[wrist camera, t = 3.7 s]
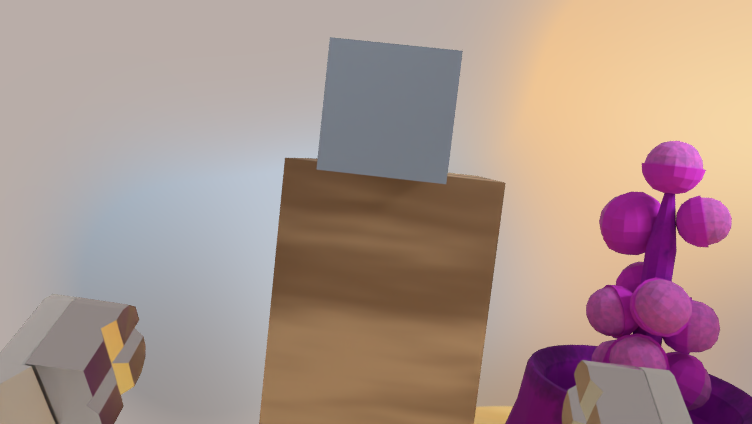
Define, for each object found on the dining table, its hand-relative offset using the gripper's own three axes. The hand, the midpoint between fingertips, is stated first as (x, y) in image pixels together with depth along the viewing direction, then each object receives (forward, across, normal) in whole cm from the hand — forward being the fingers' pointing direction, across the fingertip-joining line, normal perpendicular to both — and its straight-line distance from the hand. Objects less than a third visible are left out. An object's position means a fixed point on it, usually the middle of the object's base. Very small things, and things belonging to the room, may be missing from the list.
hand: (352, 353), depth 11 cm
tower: (+8, 0, +31) cm, 32 cm away
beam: (+18, 0, +7) cm, 20 cm away
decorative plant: (+17, -19, +37) cm, 44 cm away
